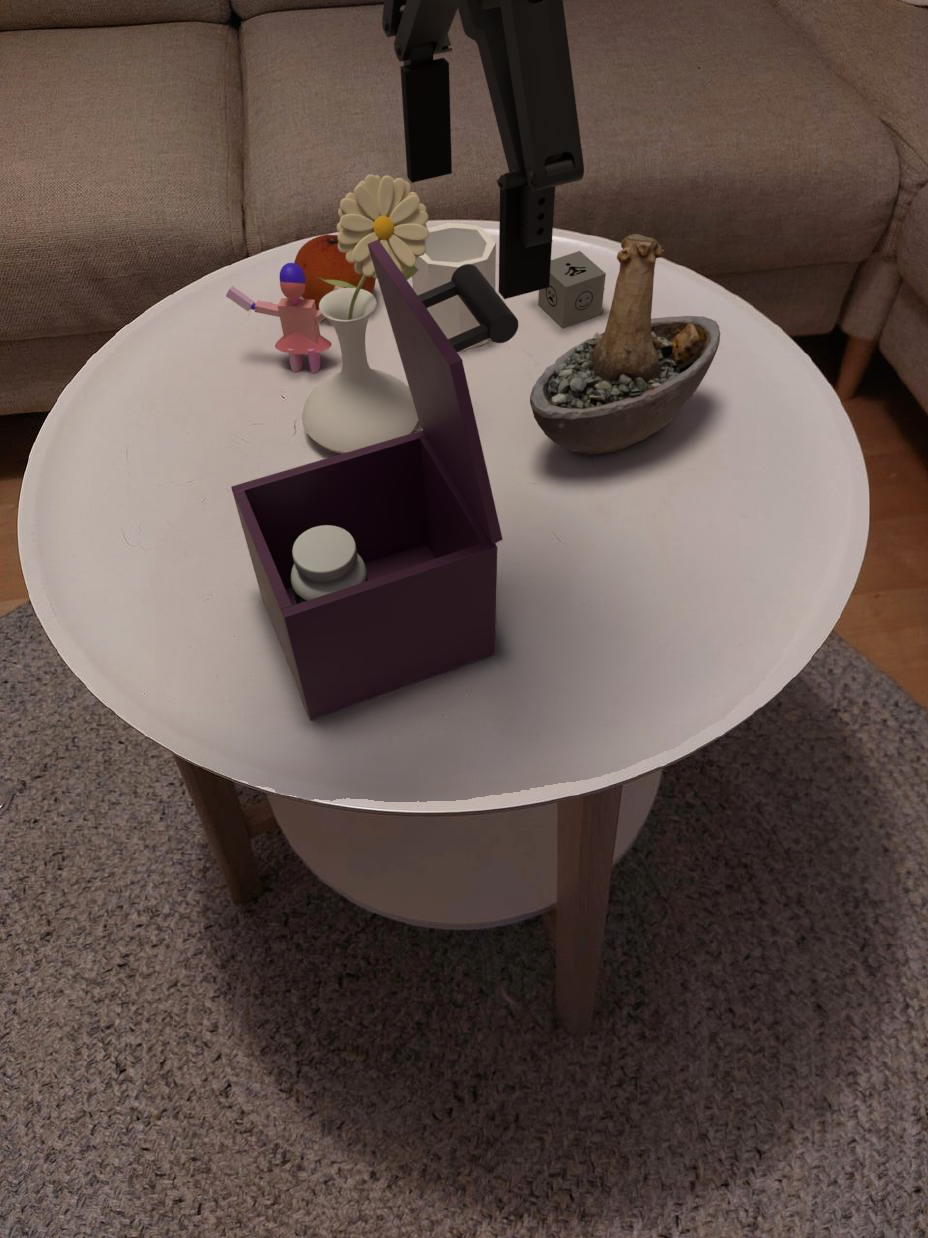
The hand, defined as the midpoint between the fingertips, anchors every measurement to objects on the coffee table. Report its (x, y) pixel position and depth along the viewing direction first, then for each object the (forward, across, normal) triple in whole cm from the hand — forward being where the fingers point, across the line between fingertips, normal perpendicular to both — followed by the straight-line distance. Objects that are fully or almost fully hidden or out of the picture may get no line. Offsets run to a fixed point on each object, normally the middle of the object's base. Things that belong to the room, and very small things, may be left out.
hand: (473, 229), depth 57 cm
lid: (+11, 0, -3) cm, 12 cm away
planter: (+33, -12, +20) cm, 41 cm away
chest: (+33, 0, -9) cm, 34 cm away
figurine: (+33, -36, -5) cm, 49 cm away
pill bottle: (+32, 0, -12) cm, 34 cm away
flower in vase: (+33, -23, -1) cm, 40 cm away
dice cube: (+33, -32, +26) cm, 53 cm away
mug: (+33, -36, +13) cm, 51 cm away
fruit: (+33, -44, +3) cm, 55 cm away
